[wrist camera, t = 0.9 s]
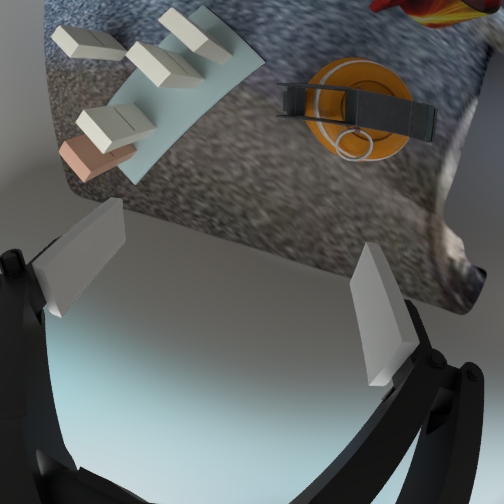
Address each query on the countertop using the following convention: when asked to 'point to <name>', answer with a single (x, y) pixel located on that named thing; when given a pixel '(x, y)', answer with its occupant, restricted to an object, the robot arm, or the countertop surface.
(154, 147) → the mat
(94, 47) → the domino
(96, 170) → the end domino
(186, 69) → the domino
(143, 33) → the countertop surface
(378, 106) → the canister
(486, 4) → the mug
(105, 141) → the domino
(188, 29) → the domino
